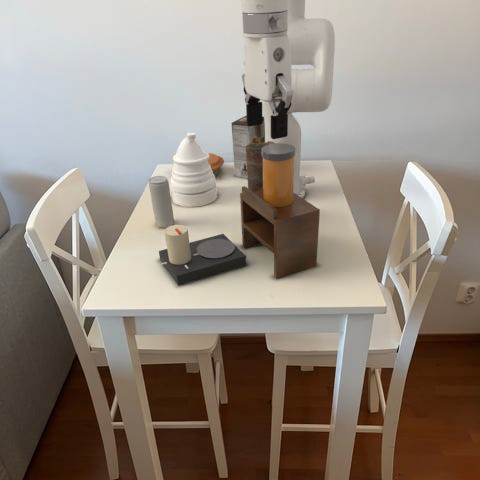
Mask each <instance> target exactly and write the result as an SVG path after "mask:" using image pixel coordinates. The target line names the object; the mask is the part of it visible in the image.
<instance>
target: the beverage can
mask: <svg viewBox="0 0 480 480" xmlns="http://www.w3.org/2000/svg"><path fill="white" fill-rule="evenodd" d="M148 188H149V193H150V199H151V205H152V210H153V216H154V222H155V225H156V226H157V227H158V228H161V229H166V228H167V227H169V226H173V225H174V223H175V217H174V216H175V215H174V209H173V203H172V195H171V188H170V181H169V180H168V177H167V176H165V175H156V176H152V177H150V178H149V179H148Z"/></svg>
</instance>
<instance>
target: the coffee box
mask: <svg viewBox="0 0 480 480" xmlns="http://www.w3.org/2000/svg"><path fill="white" fill-rule="evenodd" d="M262 118H263V122H262V124H260V125H255V126H248V125H247V115H245V116H242V117H240V118H238V119H236V120H235V121H232V122H231V136H232V137H231V138H232V139H231V140H232V152H233V154H232V155H233V170H234V177H237V178H242V179H243V178H245V179H248V176H247V161H246V146H247V145H248V144H250V143H265V124H264V116H262Z"/></svg>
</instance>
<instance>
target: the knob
mask: <svg viewBox="0 0 480 480" xmlns="http://www.w3.org/2000/svg"><path fill="white" fill-rule="evenodd" d="M164 237H165V244H166V249H167V250H168V256H169V261H170V262H171V263H172V264H176V265H181V264H185V263H188V262H189V261H190V260H191V252H190V244H189V243H190V239H189V229H188V227H187V226H186V225H183V224H173V225H172V226H169V227H167V228H164Z"/></svg>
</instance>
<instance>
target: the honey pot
mask: <svg viewBox="0 0 480 480" xmlns="http://www.w3.org/2000/svg"><path fill="white" fill-rule="evenodd" d="M196 138H197V132H193V131H192V132H187V133H186V134H185V137H184V138H183V139H182V140H181V142H180V144H179V145H178V147H177V150H176V153H175V154H174V155H173V157H172V160H173V166H172V168H171V178H170V180H169V186H170V194H171V200H172V202H173V203H174V204H176V205H177V206H181V207H187V208H189V207H190V208H191V207H192V208H193V207H194V208H195V207H202V206H206V205H209V204H211V203H213V202H214V201H216V200H217V199H218V189H217V178H216V176H215V175H214V174H213V171H212V169H211V166H210V164H209V163H208V159H209V157H210V156H209V153H210V152H208V151H205V150H203V149H202V147H201V146H200V144H199V143H198V142H197V140H196Z"/></svg>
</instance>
